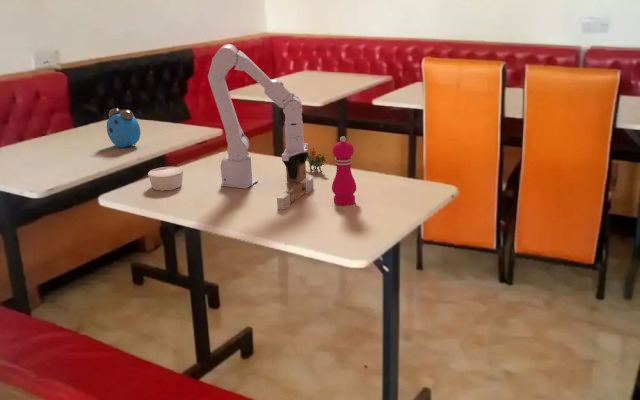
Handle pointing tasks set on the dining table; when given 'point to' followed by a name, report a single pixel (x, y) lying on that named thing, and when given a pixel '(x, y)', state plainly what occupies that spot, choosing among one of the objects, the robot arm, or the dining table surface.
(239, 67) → the robot arm
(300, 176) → the block
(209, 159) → the dining table surface
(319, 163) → the figurine
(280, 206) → the wall frame
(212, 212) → the dining table surface
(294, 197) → the door
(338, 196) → the pepper mill
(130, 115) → the alarm clock
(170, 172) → the ramekin
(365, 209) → the dining table surface
